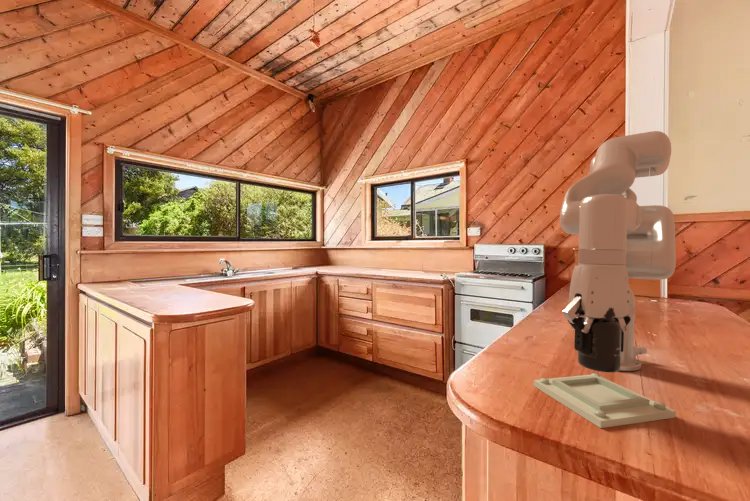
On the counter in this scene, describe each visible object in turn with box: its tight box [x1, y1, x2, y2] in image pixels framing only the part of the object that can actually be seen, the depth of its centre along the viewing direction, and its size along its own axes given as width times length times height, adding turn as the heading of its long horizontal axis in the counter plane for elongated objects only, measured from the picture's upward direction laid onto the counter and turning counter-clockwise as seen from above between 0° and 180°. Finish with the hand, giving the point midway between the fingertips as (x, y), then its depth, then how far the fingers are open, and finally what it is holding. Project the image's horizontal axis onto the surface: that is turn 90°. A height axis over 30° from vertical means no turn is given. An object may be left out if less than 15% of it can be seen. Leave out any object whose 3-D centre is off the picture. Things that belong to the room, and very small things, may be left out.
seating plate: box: [533, 372, 676, 429], centre depth 63 cm, size 16×16×2 cm
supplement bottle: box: [577, 308, 621, 374], centre depth 62 cm, size 7×7×12 cm
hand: (598, 350), depth 62 cm, fingers closed on supplement bottle, 6 cm apart
